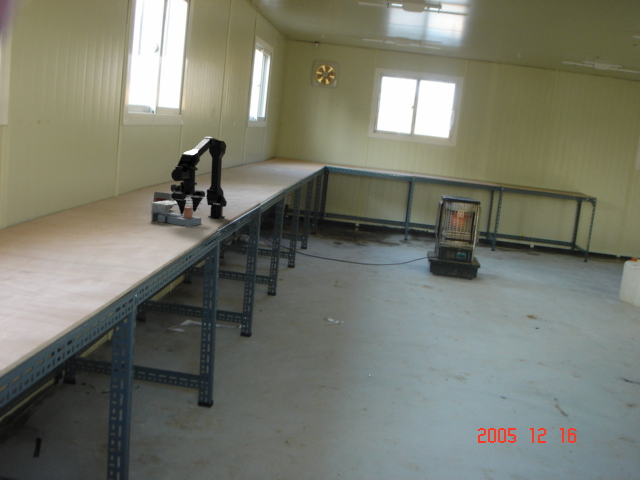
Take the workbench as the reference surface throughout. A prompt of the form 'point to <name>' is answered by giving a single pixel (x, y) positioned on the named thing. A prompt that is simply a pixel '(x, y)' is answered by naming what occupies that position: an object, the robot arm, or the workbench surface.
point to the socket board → (179, 219)
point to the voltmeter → (165, 198)
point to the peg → (188, 212)
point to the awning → (161, 209)
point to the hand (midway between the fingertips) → (188, 212)
